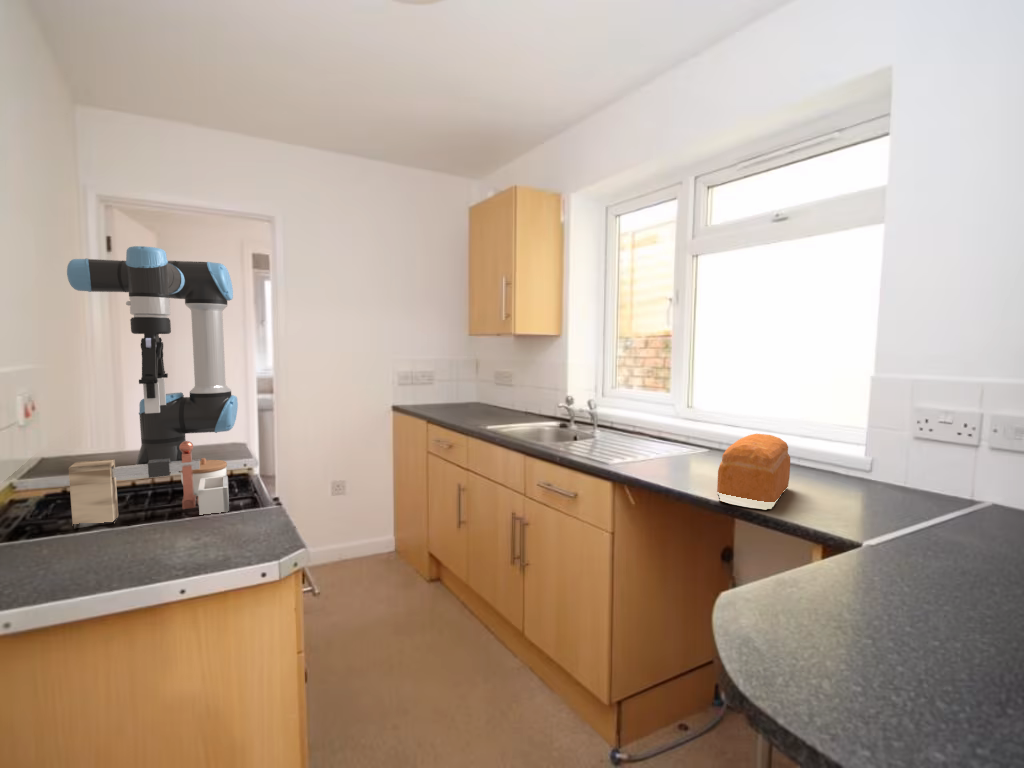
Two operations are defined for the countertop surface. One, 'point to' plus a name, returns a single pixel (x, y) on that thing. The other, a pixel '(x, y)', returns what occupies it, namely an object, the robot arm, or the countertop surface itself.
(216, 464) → the lidded jar
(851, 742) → the countertop surface
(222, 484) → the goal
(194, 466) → the post with horizontal bar
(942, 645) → the countertop surface
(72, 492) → the paper bag
